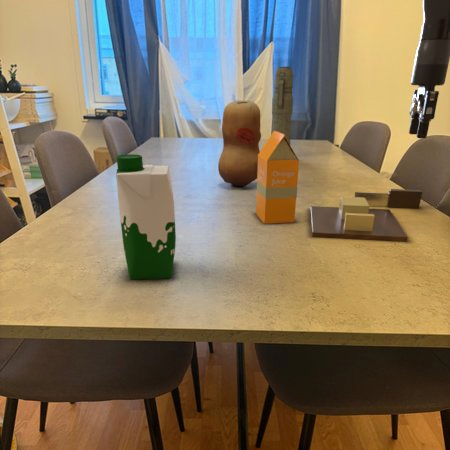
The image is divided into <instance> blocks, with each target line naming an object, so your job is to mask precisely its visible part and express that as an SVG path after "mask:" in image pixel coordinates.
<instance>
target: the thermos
mask: <svg viewBox="0 0 450 450" xmlns="http://www.w3.org/2000/svg"><path fill="white" fill-rule="evenodd" d="M293 88H294V71H293V68H292V67H291V66H279V67H276V71H275V74H274V91H273V96H272V101H271V115H272V122H271V123H272V125H271V134H272V133H273V132H274V131H277V132H279V133H282V134H284V136H285V137H286V139H287V141H288V142H289V144H290V145H291V138H290V137H291V122H292V115H293V111H294V109H293V108H294V97H293Z"/></svg>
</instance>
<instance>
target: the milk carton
mask: <svg viewBox="0 0 450 450" xmlns="http://www.w3.org/2000/svg"><path fill="white" fill-rule="evenodd" d="M116 164H117V166H116V167H117V169H116V175H115V179H116V189H117V201H118V209H119V210H118V211H119V218H120V228H121V236H122V245H123V253H124V257H125V261H126V266H127V271H128V276H129V280H152V279H153V280H156V279H171V278H172V273H173V268H174V267H173V266H174V260H175V253H176V243H177V242H176V240H177V236H176V235H177V234H176V215H175V213H176V212H175V200H174V199H175V198H174V190H173V185H172V184H173V183H172V179H171V172H170V166H169V165H155V164H144V162H143V155H141V154H133V153H130V154H119V155H117V156H116Z"/></svg>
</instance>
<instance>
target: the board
mask: <svg viewBox="0 0 450 450" xmlns="http://www.w3.org/2000/svg"><path fill="white" fill-rule="evenodd" d="M368 214H374V216H375V217H374V223H373V229H372V231H354V230H344V222H345V219H341V216H340V213H339V206H318V205H317V206H315V205H311V206H310V224H311V237H312V238H313V237H314V238H330V239H348V240H349V239H350V240H351V239H352V240H367V241H368V240H370V241H388V242H389V241H391V242H405V243H407V242H408V238H409V237H408V236H407V234H406V232H405V230H404V229H403V228H402V226H401V225H400V223H399V221H398V220H397V219H396V218H395V216H394V214H393V213H392V211H391V210H390V209H388V208H369V211H368Z"/></svg>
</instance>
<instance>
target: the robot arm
mask: <svg viewBox="0 0 450 450" xmlns="http://www.w3.org/2000/svg"><path fill="white" fill-rule="evenodd" d="M422 12H423V13H422V14H423V20H422V24H421V30H420V33H419V34H420V36H419V41H418V45H417V48H416V51H415V57H414V61H413V68H412V73H411V79H410V85H411V86H417V87H418V89H414V90H413V94H412V99H411V103H410V104H411V105H410V110H409V116H410V124H409V130H408V134H409V135H416V138H417V139H426V138H427V137H428V132H429V127H430V123H431V121H432V120H434V119H435V114H436V111H437V104H438V100H439V95H440V91H439V90H436V87H437V86H444V85H445V83H446V78H447V75H448V74H447V73H448V69H449V65H450V64H449V63H450V0H422Z"/></svg>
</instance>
